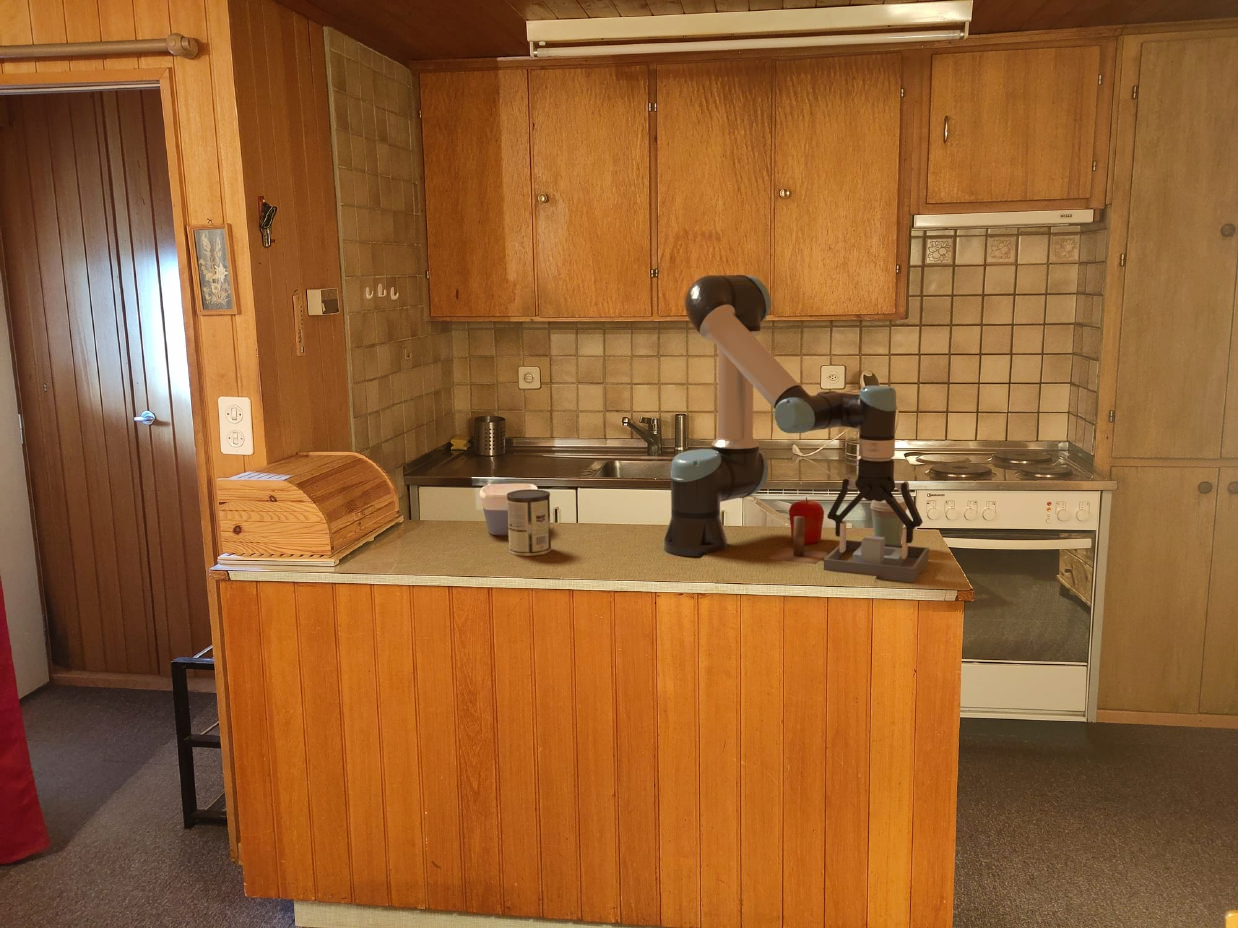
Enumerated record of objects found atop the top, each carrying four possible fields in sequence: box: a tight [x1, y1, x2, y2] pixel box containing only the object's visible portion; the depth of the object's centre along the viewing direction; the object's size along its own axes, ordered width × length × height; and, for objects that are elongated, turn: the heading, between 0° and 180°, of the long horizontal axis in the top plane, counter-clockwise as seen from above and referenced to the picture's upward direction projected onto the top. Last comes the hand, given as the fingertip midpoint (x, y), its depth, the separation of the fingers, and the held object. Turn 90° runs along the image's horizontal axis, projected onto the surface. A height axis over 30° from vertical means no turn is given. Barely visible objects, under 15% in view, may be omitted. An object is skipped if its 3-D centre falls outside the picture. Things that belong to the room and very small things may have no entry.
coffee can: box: [507, 489, 552, 557], centre depth 248 cm, size 10×10×14 cm
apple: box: [788, 496, 825, 545], centre depth 252 cm, size 9×8×12 cm
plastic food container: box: [479, 483, 539, 537], centre depth 269 cm, size 15×15×11 cm
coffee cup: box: [870, 496, 908, 545], centre depth 247 cm, size 8×8×12 cm
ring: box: [851, 535, 906, 566], centre depth 232 cm, size 10×15×7 cm, turn 155°
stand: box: [768, 516, 828, 565], centre depth 239 cm, size 11×11×10 cm
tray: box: [823, 539, 930, 584], centre depth 232 cm, size 19×19×3 cm
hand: (873, 554), depth 227 cm, fingers open, 13 cm apart
